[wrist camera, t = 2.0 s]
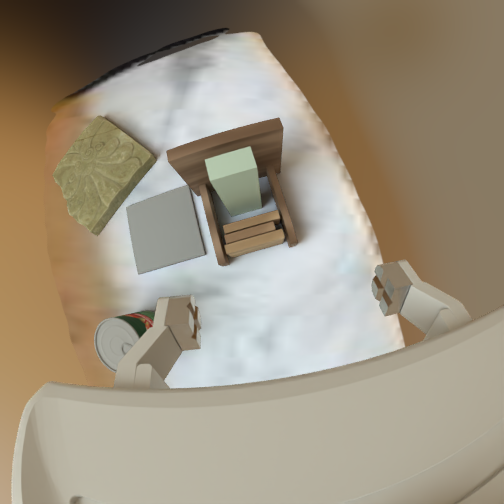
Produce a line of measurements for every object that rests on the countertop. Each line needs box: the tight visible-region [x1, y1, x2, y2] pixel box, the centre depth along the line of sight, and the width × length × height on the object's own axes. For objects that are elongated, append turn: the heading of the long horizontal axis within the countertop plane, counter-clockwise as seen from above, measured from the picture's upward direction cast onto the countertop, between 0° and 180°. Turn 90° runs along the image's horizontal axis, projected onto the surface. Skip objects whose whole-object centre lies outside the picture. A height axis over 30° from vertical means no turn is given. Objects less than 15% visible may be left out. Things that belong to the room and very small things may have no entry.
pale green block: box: [205, 146, 262, 217], centre depth 35 cm, size 3×5×16 cm, turn 106°
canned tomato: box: [94, 310, 155, 373], centre depth 36 cm, size 8×8×11 cm
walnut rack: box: [167, 118, 298, 266], centre depth 36 cm, size 14×14×14 cm
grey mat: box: [126, 185, 206, 274], centre depth 43 cm, size 12×12×1 cm
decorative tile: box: [53, 116, 156, 236], centre depth 45 cm, size 19×20×4 cm
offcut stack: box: [223, 210, 285, 258], centre depth 39 cm, size 4×8×6 cm, turn 106°
